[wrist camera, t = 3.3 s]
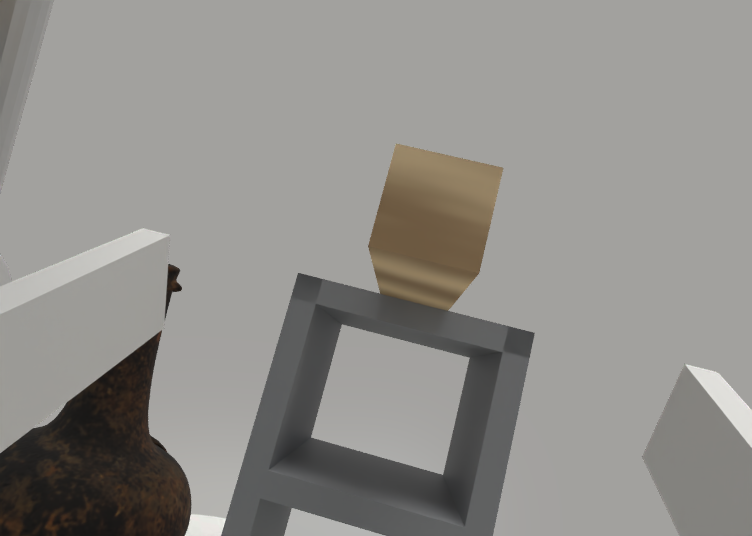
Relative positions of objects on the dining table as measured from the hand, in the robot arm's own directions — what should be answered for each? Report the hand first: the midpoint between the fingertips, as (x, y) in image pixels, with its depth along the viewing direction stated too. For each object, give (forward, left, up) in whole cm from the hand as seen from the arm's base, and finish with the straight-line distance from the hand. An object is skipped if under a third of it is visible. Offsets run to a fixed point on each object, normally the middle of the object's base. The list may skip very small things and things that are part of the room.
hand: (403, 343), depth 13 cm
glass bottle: (-37, +15, -25) cm, 47 cm away
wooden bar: (-10, +17, +3) cm, 20 cm away
